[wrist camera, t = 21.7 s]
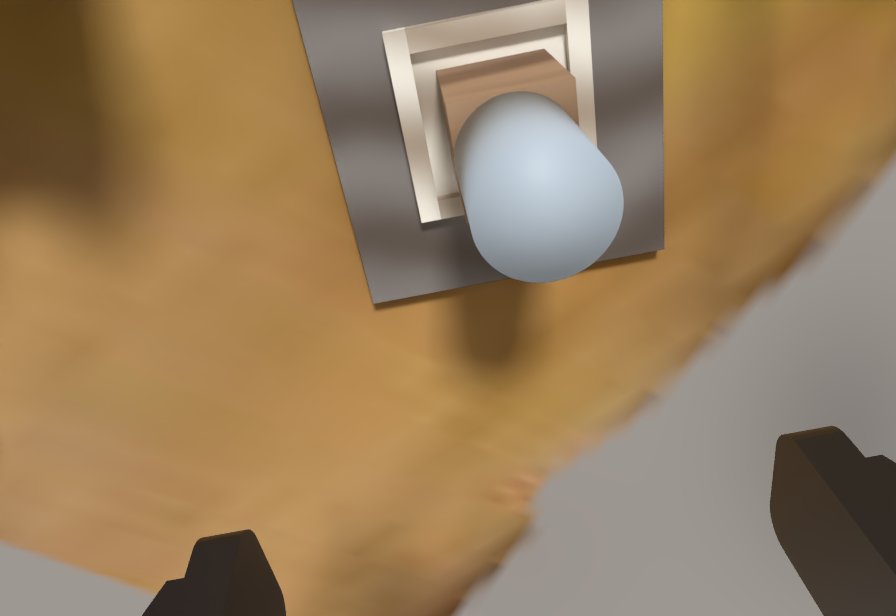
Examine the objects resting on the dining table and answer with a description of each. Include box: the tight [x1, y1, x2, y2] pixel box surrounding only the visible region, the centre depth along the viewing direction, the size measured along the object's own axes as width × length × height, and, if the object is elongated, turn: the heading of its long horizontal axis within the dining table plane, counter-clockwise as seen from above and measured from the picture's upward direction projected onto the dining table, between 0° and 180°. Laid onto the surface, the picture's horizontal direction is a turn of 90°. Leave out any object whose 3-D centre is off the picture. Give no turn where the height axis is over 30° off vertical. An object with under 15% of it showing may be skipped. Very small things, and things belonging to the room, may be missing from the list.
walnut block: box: [436, 49, 579, 223], centre depth 30 cm, size 5×5×6 cm
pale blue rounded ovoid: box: [454, 91, 624, 283], centre depth 25 cm, size 5×5×6 cm
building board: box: [293, 0, 664, 304], centre depth 33 cm, size 18×16×2 cm
